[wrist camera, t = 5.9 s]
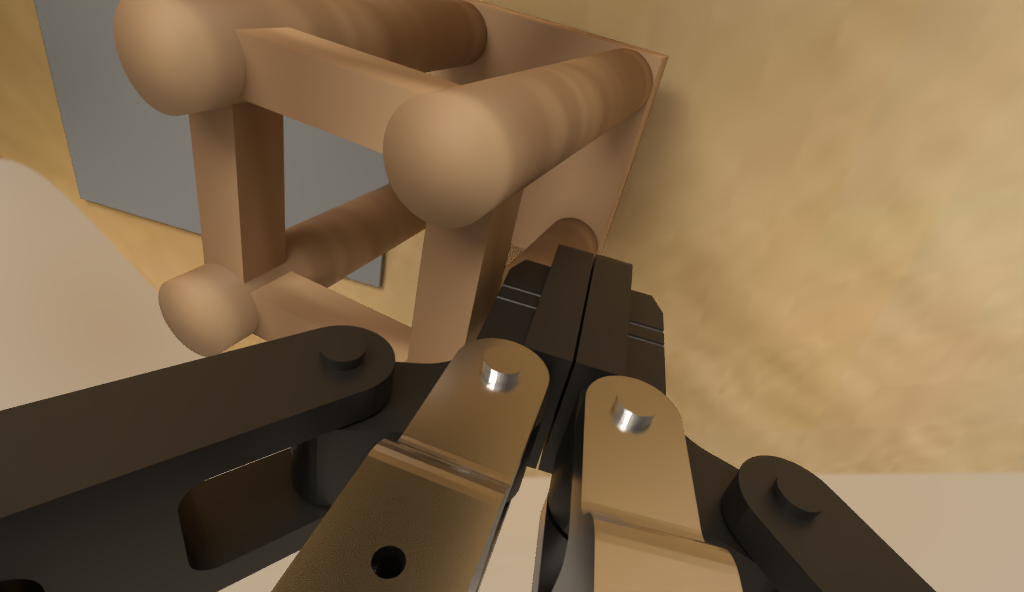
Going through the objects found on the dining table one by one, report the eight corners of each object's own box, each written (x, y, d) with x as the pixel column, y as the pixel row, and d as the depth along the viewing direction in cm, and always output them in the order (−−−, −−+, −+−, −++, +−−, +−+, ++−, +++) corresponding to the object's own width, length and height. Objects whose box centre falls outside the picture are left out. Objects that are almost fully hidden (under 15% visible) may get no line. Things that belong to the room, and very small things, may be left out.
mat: (426, -204, 15) (424, -207, 15) (380, 285, 23) (379, 287, 23) (-34, -312, 16) (-41, -316, 16) (84, 196, 24) (80, 198, 24)
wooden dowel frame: (668, 56, 16) (512, 118, 7) (597, 265, 19) (435, 484, 10) (455, -6, 17) (104, -23, 8) (427, 197, 21) (164, 335, 12)
